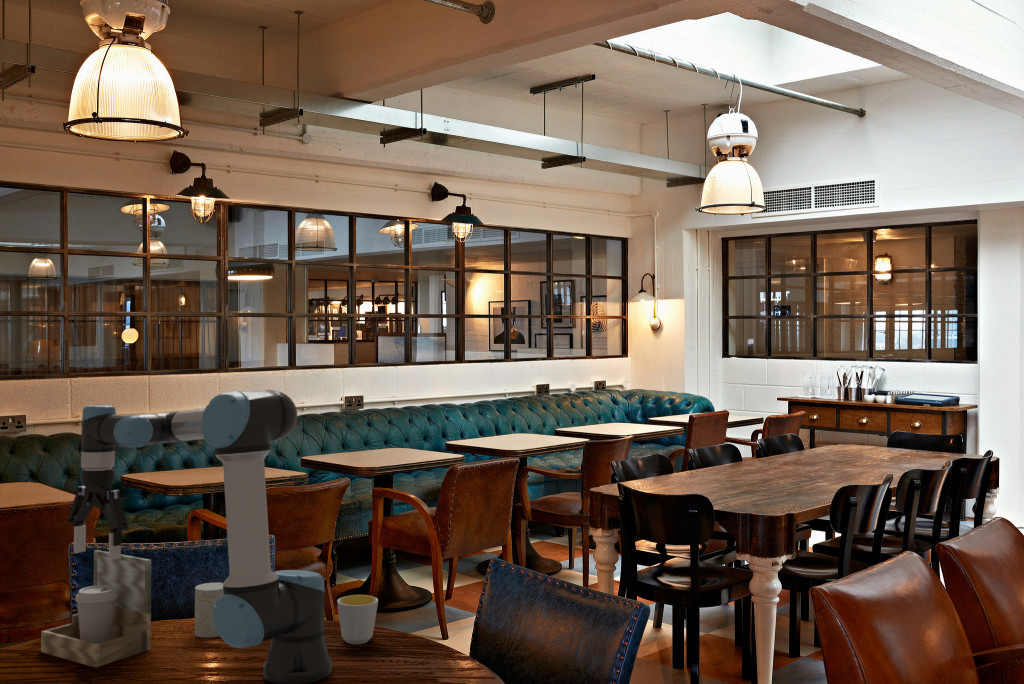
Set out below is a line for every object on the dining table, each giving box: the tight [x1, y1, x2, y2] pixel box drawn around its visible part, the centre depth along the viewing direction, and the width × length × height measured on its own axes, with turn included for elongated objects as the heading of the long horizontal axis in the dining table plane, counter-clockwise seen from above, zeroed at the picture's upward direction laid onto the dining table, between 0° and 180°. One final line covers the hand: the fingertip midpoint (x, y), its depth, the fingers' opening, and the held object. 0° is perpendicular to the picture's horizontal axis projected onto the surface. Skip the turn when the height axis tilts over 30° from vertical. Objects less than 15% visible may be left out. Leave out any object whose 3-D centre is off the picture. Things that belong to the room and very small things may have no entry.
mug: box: [336, 594, 379, 645], centre depth 237 cm, size 14×10×10 cm
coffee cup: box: [74, 585, 118, 644], centre depth 226 cm, size 10×10×15 cm
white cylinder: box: [194, 582, 224, 638], centre depth 241 cm, size 8×8×12 cm
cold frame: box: [40, 549, 152, 668], centre depth 227 cm, size 21×16×22 cm
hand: (96, 555), depth 226 cm, fingers open, 13 cm apart
